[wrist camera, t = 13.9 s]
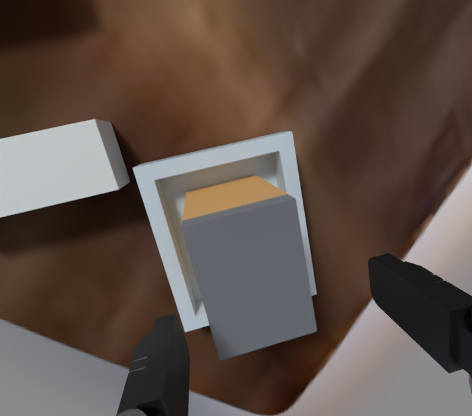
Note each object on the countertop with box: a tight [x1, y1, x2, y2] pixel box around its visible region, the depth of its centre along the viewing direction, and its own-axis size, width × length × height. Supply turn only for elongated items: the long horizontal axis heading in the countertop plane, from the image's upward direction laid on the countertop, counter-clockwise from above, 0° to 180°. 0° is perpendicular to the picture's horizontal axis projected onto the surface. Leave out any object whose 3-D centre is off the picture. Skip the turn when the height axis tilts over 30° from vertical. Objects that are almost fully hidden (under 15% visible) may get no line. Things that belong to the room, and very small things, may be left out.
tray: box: [133, 131, 317, 332], centre depth 19 cm, size 10×12×2 cm
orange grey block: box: [181, 175, 317, 360], centre depth 16 cm, size 5×7×8 cm
